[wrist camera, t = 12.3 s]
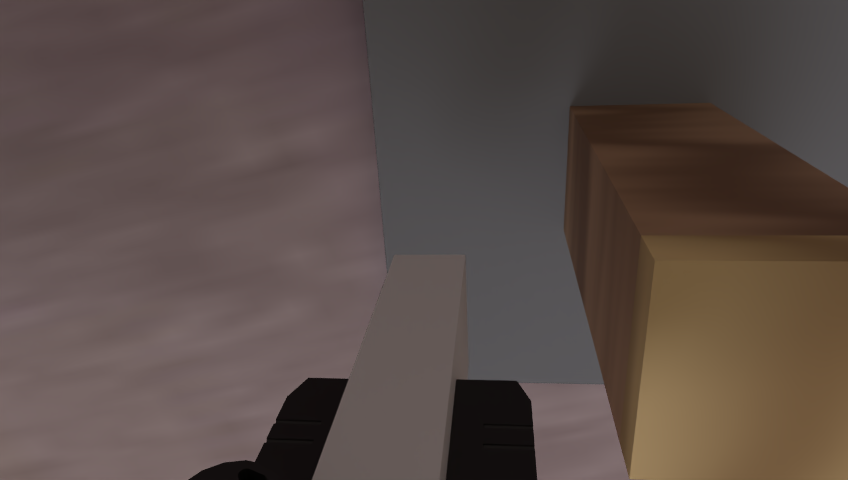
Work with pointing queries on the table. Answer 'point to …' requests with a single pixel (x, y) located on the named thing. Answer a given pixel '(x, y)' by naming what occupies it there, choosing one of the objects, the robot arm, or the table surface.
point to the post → (711, 293)
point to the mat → (548, 134)
